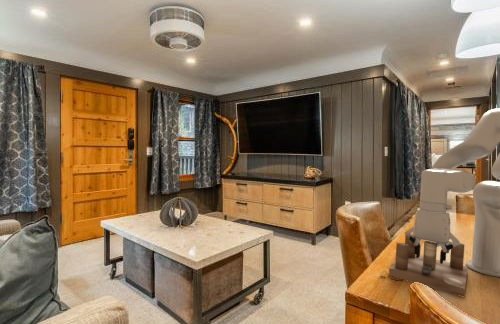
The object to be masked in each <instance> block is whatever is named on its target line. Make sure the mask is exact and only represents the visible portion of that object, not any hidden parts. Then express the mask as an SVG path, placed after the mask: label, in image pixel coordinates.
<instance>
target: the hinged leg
mask: <svg viewBox="0 0 500 324" xmlns="http://www.w3.org/2000/svg"><path fill="white" fill-rule="evenodd" d="M437 249H438V247H437V243H435V242H433V241H428V240H424V241H423V266H424V267H423V268H422V273H423V274H426V275H430V272H431V270H432V268H436V260H437V251H438V250H437Z"/></svg>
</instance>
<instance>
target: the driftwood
mask: <svg viewBox="0 0 500 324" xmlns="http://www.w3.org/2000/svg"><path fill="white" fill-rule="evenodd" d="M451 242H452V241H451V240H449V241H448V243H446V245H448V244H450V243H451ZM435 243H437V248H438V247H441V245H440V243H438V242H435ZM449 252H450V250H448V251H447V252H446V253H449Z"/></svg>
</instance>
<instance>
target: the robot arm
mask: <svg viewBox="0 0 500 324" xmlns="http://www.w3.org/2000/svg"><path fill="white" fill-rule="evenodd" d="M499 143H500V107H498V108H493V109H490V110H488V111H487V112H485V113H483V115H481V117H480V119H479V120H478V122H477V123H476V124H475V126H474V127H473V129H472V130H471V131H470V133H469V134H468V135H467V136H466V138H465V140H464V141H462V142H461V143H459V144H457V145H455V146H454V147H452V148H450V149H449V150H447V151H446V152H444V153H443V154H442V155H440V156H439V157H438V158H437V159H436V161H435V162H434V163H433V165H432V166H431V168H429V169H423V170H422V172H421V176H420V195H419V207H418V208H417V209H416V212H415V216H414V217H415V218H414V222H413V226H412V227H410V228H408V229H407V230H406V231H404V235H405V234H406V236H407V237H408V238H409V239H410V240H411V242H412V243H413V244H414V246H415V251H414V254H416V258H419V257H420V256H421V247H422V246H421V244H420V242H421V241H422V240H424V241H432V242H438V243H440V245H441V246H440V248H441V249H440V255H439V260H440V263H441V264H443V261H445V262H447V261H446V260H447V253H448V252H447V251H448V250H449V251H451V249H452V248H453V247H455V246H457V245H459V243H461V242H460V240H459V239H457V237H456V236H455V235H454V234H453V233H452V232H451V216H450V215H451V214H450V212H449V211H448V210H453V205H450V204H448V193H449V192H452V193H460V194H461V193H462V194H464V193H468V192H470V191H472V199H473V204H474V224H473V225H474V226H473V227H474V228H473V241H472V252H471V253H472V254H471V259H468V260H466V264H465V266H467V267H468V268H469V269H471V270H472V271H474V272H475V271H476V272H477V273H479V274H484V275H486V276H487V275H488V276H490V277H491V276H492V277H497V278H500V152H499V154H498V155H497V157H496V159H495V161H494V162H493V164H492V167H491V169H490V170H491V175H492V176H493V178H495V179H497V180H499V181H497V180H483V181H480V182H478V183H477V180H476V176H475V175H474V174H473V173H471V172H470V171H467V170H463V169H456V168H457V167H459V166H461V165H464V164H466V163H468V162H472V161H476V160H479V159H481V158H485V157H488V156H490V155H491V154H492V153H493V152H494V151H495V150H496V148H497V146H498V145H499ZM411 234H413V235H414V237H416V239H415V238H414V237H413V236H412V235H411ZM448 241H451V242H452V243H450V244H448V245H446V243H448Z"/></svg>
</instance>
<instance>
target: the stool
mask: <svg viewBox="0 0 500 324" xmlns="http://www.w3.org/2000/svg"><path fill="white" fill-rule="evenodd" d="M404 235H405V236H404V238H405V239H404V242H396V247H395V249H396V250H395V251H396V252H395V260H394V262H393V263H392V265H390V267H389V268H388V276H389V277H392V276H393V277H392V278H395V277H396V279H399V278H400V279H399V280H402V279H404V280H403V281H406V280H408V281H407V282H409V281H412V282H411V283H413V282H419V283H422V284H424V285H427V286H429V287H428V288H430V287H431V288H430V289H434V290H438V291H441V292H444V293H448V294H452V295H455V294H456V295H455V296H458V295H460V296H459V297H462V296H464V297H465V296H466V288H465V287H466V286H467V279H468V268H469V267H468V266H467V265H464V259H465V257H464V256H465V244H464V243H461V242H460V243H459V245H457V246H455V247H453V248H452V249H450V257H449V260H450V261H449V262H448V261H443V264H441V263H440V259H436V268H432V270H431V272H430V275H426V274H423V273H422V268H423V267H424V266H423V256H422V255H420V257H419V258H416V254H414V251H415V246H414V244H413V243H412V242H411V240H410V239H409V238H408V237H407V236H406V234H405V233H404ZM411 235H412V236H413V237H414V235H413V233H411ZM414 238H415V239H417V238H416V237H414ZM450 242H451V243H452V242H453V241H450ZM427 286H426V287H427Z"/></svg>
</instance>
